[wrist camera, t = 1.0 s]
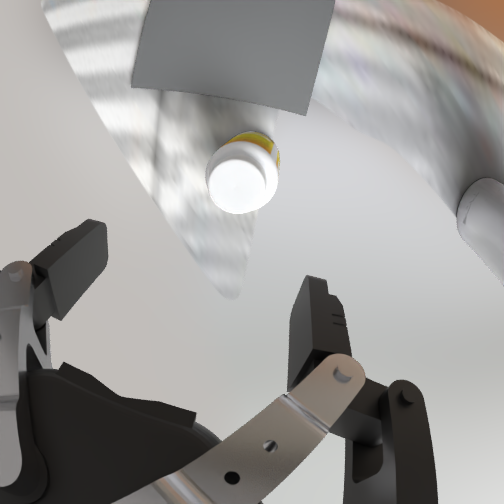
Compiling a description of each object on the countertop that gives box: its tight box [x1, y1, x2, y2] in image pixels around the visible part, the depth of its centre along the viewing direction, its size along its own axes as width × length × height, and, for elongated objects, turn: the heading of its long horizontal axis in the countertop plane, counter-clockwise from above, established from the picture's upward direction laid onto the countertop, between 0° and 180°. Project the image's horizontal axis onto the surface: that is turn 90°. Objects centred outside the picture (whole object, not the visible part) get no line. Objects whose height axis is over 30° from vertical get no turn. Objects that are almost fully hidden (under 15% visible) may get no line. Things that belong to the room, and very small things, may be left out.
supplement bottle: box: [205, 131, 280, 214], centre depth 23 cm, size 6×6×10 cm
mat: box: [131, 0, 335, 116], centre depth 21 cm, size 18×13×1 cm
